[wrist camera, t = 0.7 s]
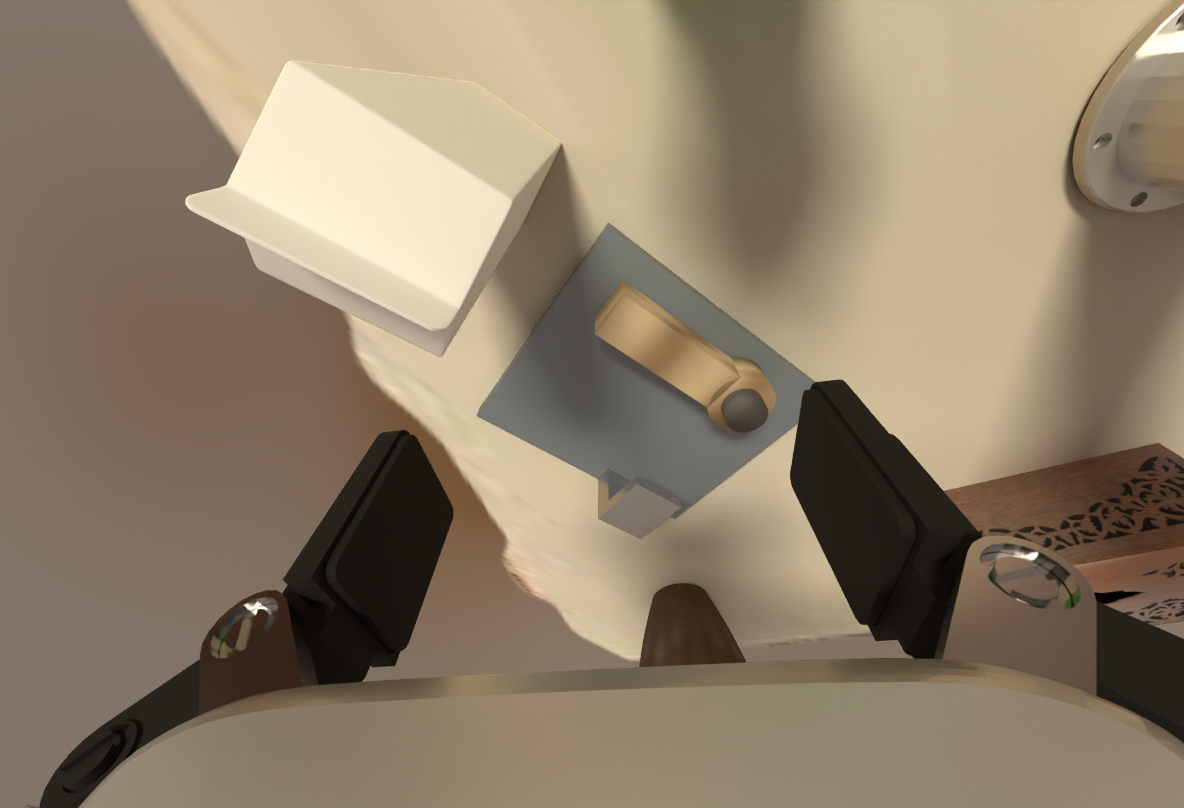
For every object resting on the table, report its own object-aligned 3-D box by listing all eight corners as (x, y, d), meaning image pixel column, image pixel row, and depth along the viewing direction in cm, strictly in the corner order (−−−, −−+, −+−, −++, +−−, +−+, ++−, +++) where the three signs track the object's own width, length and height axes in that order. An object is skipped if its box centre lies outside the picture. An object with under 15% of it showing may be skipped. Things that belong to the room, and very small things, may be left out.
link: (777, 378, 36) (796, 410, 32) (731, 418, 38) (744, 451, 34) (630, 270, 30) (634, 293, 27) (588, 324, 33) (587, 352, 29)
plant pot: (760, 588, 56) (808, 735, 43) (690, 635, 64) (713, 772, 51) (669, 552, 52) (692, 704, 39) (605, 607, 60) (607, 749, 47)
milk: (522, 226, 30) (409, 419, 12) (440, 175, 28) (170, 317, 11) (563, 140, 27) (494, 233, 9) (474, 77, 25) (175, 43, 7)
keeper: (671, 457, 43) (681, 507, 38) (636, 488, 46) (640, 539, 40) (632, 435, 41) (637, 484, 36) (598, 468, 44) (598, 518, 39)
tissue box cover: (870, 575, 55) (918, 659, 47) (867, 505, 47) (923, 591, 39) (1113, 530, 49) (1215, 616, 41) (1155, 441, 41) (1292, 526, 33)
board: (825, 389, 38) (831, 397, 37) (673, 510, 47) (675, 518, 46) (608, 222, 30) (608, 226, 29) (479, 408, 40) (476, 415, 39)
